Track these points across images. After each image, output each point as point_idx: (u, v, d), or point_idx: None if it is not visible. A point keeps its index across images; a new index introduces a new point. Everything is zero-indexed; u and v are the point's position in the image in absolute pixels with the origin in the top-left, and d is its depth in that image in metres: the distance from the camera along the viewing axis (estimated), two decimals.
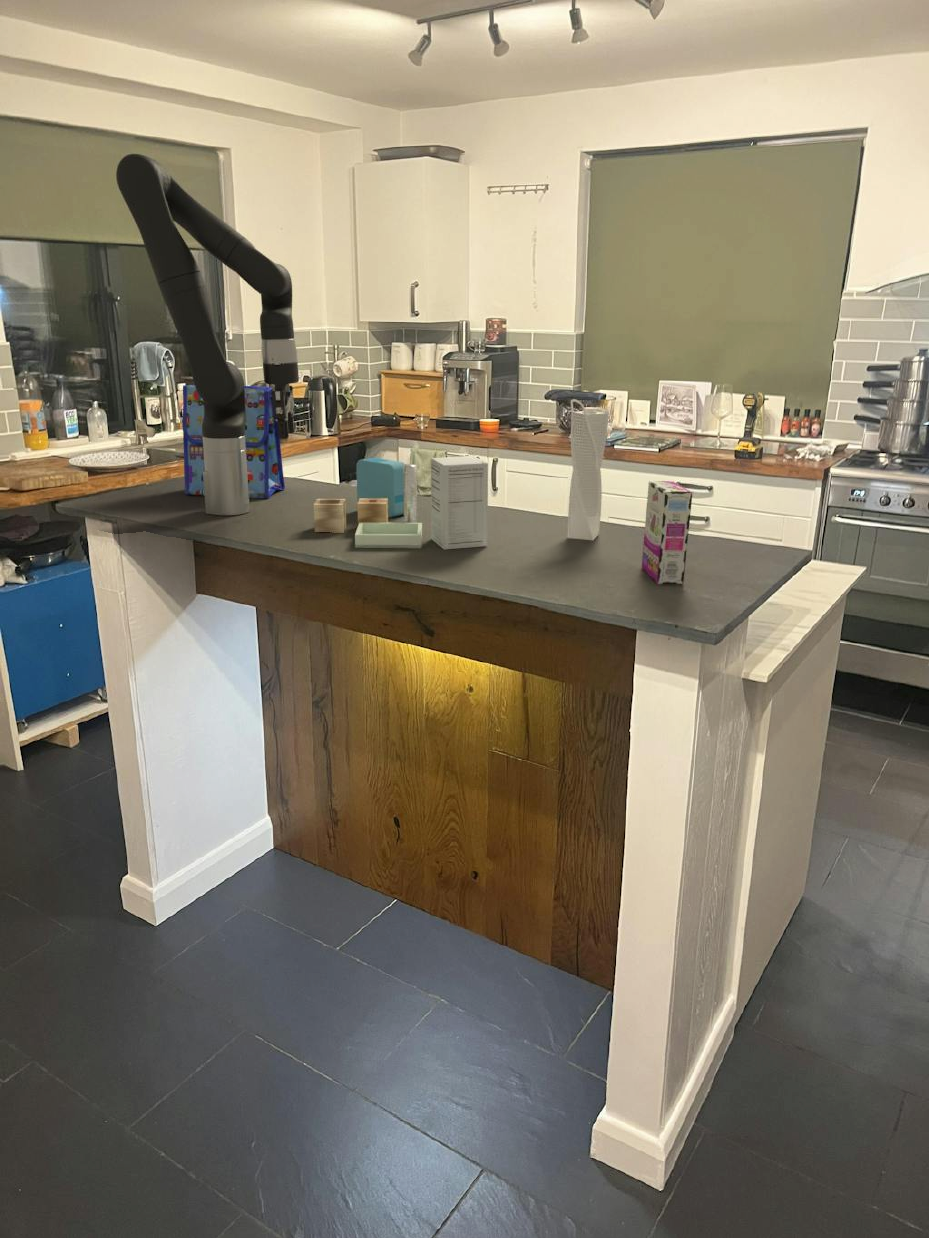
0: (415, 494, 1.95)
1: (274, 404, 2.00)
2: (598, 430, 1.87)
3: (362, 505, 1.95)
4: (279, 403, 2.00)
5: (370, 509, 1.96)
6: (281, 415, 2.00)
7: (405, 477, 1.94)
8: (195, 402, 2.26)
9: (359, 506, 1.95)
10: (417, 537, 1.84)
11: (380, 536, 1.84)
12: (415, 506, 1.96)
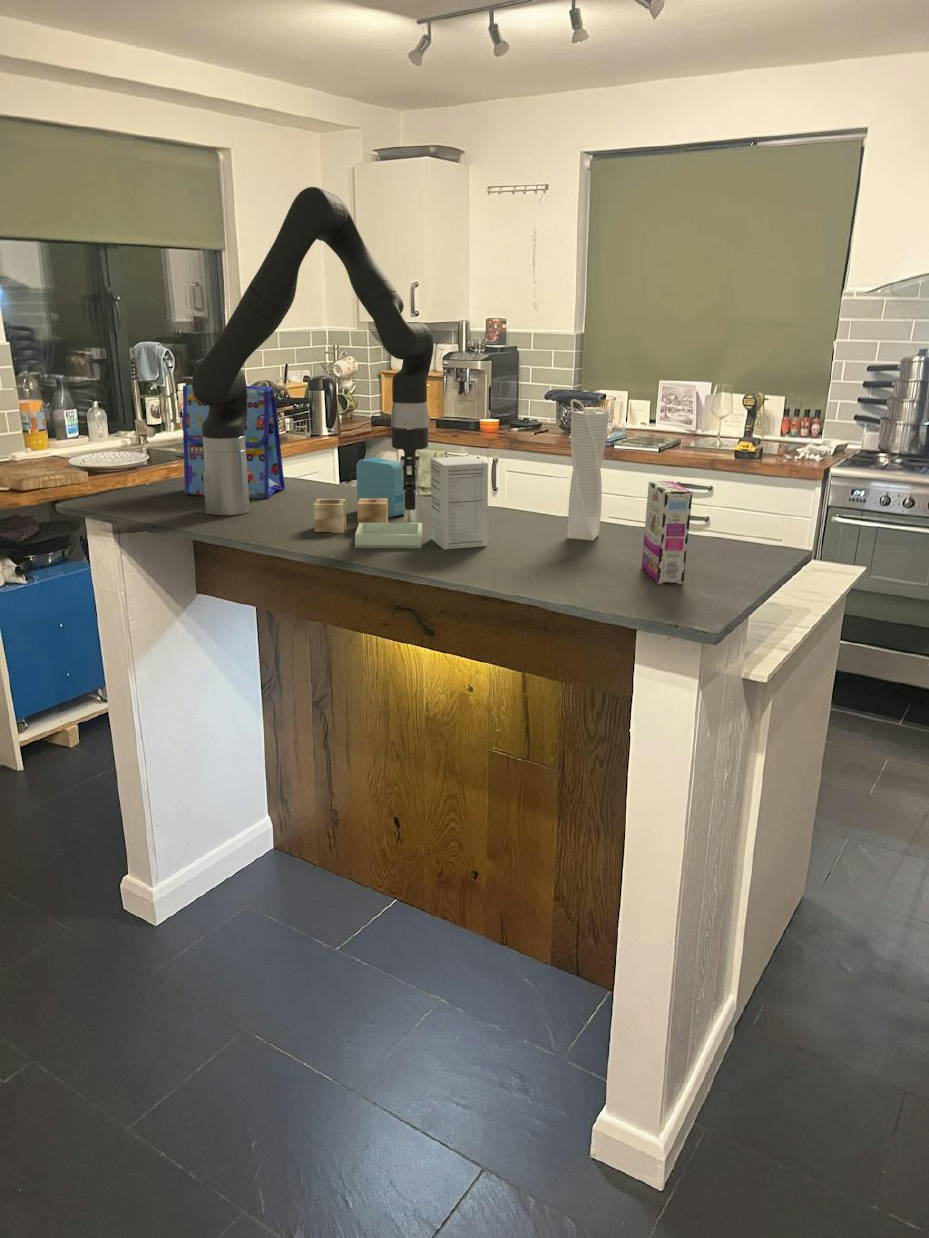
0: (415, 494, 1.95)
1: (405, 478, 1.89)
2: (598, 430, 1.87)
3: (362, 505, 1.95)
4: (410, 478, 1.89)
5: (370, 509, 1.96)
6: (411, 488, 1.91)
7: None
8: (195, 402, 2.26)
9: (359, 506, 1.95)
10: (417, 537, 1.84)
11: (380, 536, 1.84)
12: (415, 506, 1.96)
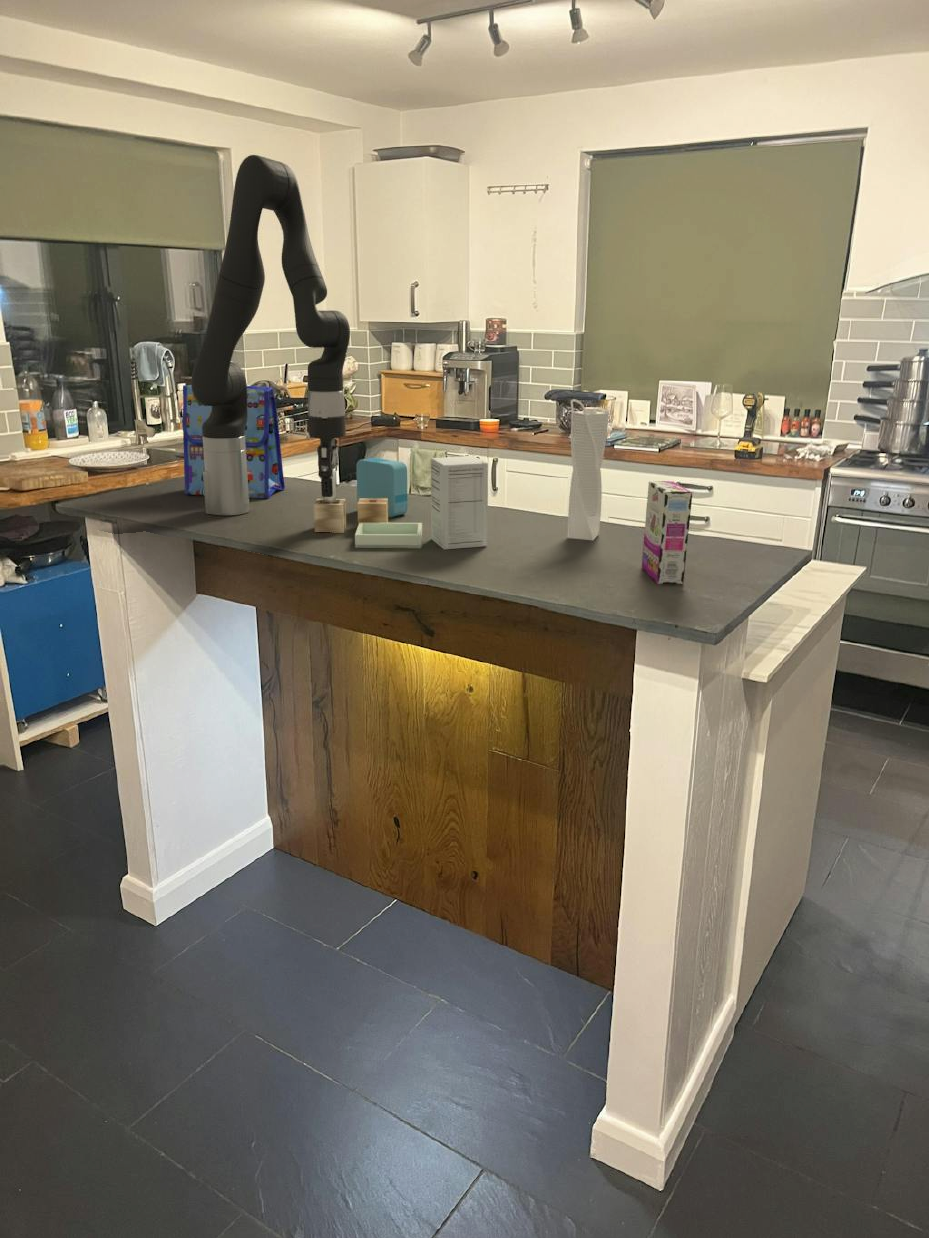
0: (334, 492, 1.96)
1: (320, 461, 1.87)
2: (598, 430, 1.87)
3: (362, 505, 1.95)
4: (325, 461, 1.87)
5: (370, 509, 1.96)
6: (327, 473, 1.88)
7: None
8: (195, 402, 2.26)
9: (359, 506, 1.95)
10: (417, 537, 1.84)
11: (380, 536, 1.84)
12: None
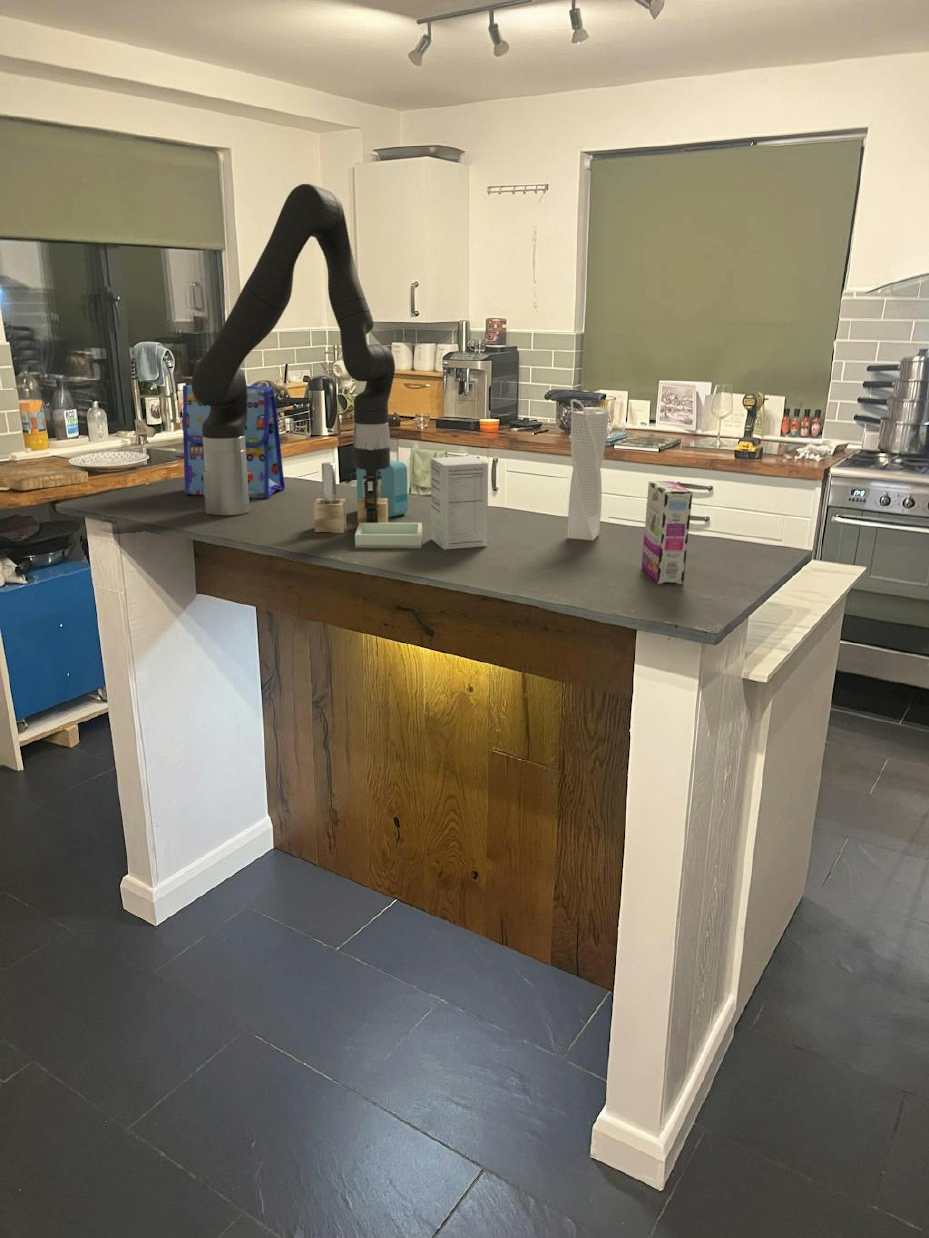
0: (334, 492, 1.96)
1: (366, 495, 1.91)
2: (598, 430, 1.87)
3: (362, 505, 1.95)
4: (371, 494, 1.91)
5: None
6: (373, 505, 1.92)
7: (323, 475, 1.94)
8: (195, 402, 2.26)
9: (359, 506, 1.95)
10: (417, 537, 1.84)
11: (380, 536, 1.84)
12: None
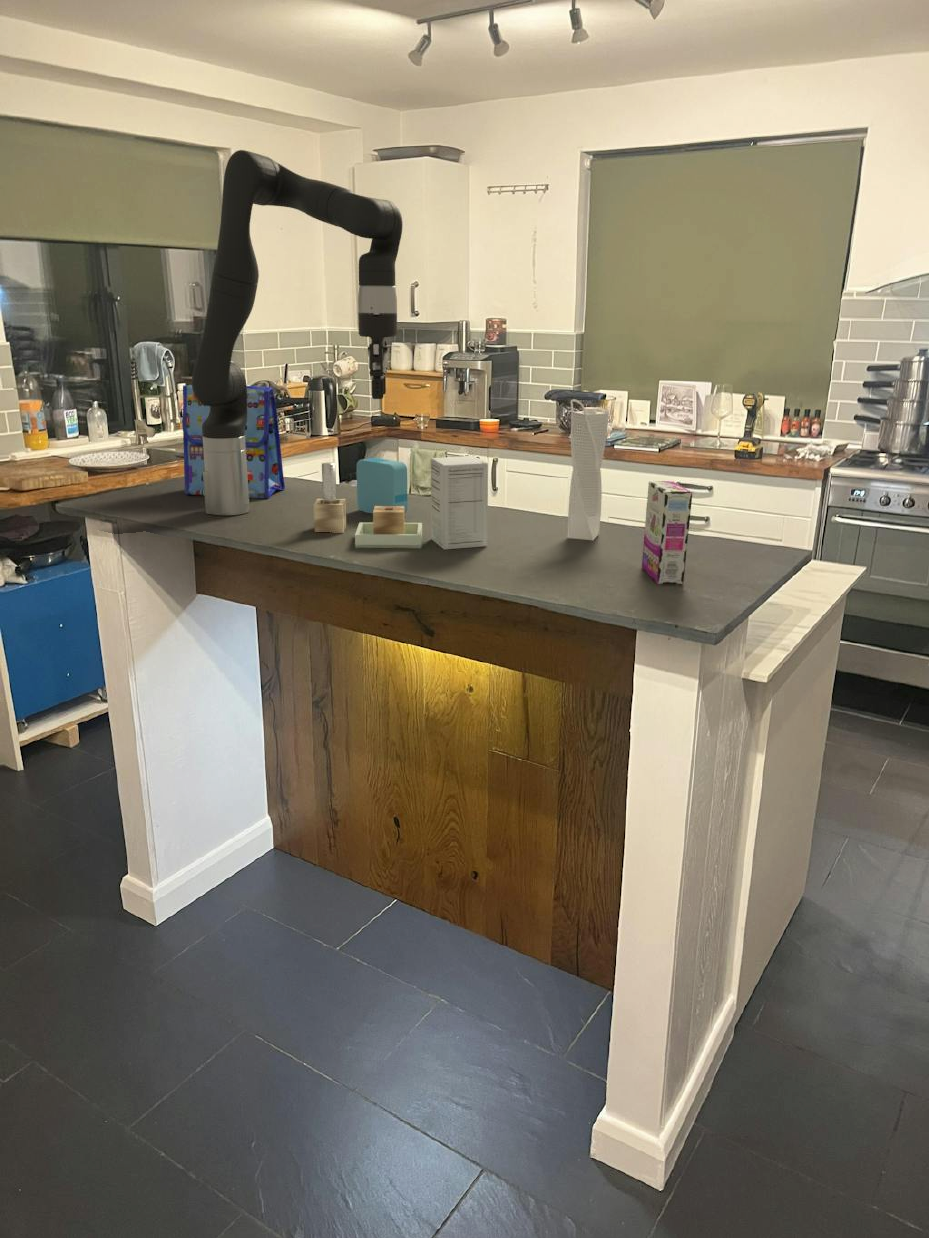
0: (334, 492, 1.96)
1: (371, 359, 1.77)
2: (598, 430, 1.87)
3: (378, 513, 1.85)
4: (377, 358, 1.77)
5: (386, 517, 1.85)
6: (378, 371, 1.78)
7: (323, 475, 1.94)
8: (195, 402, 2.26)
9: (375, 514, 1.85)
10: (417, 537, 1.84)
11: (380, 536, 1.84)
12: None
